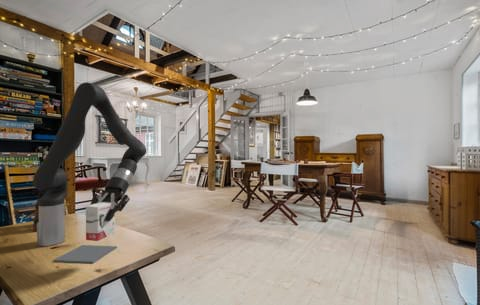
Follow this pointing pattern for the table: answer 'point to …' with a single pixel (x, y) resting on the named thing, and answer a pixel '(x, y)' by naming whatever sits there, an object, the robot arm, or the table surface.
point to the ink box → (98, 221)
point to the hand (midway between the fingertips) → (99, 219)
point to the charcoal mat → (85, 254)
